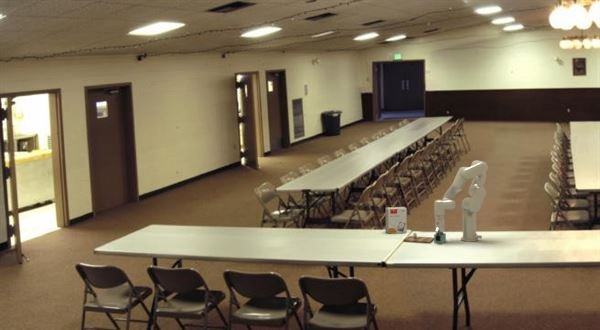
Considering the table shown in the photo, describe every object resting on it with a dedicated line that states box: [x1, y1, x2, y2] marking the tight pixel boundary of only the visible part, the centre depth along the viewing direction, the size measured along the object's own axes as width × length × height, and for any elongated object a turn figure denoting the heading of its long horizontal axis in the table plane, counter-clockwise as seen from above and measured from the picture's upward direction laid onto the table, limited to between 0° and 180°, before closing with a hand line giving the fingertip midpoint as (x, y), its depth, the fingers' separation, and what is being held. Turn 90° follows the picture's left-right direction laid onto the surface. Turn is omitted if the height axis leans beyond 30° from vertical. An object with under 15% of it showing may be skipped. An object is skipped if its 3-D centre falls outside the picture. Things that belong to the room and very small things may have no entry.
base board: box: [403, 232, 434, 245], centre depth 537 cm, size 20×14×6 cm
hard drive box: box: [385, 206, 408, 235], centre depth 567 cm, size 16×8×20 cm, turn 97°
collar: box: [433, 232, 447, 244], centre depth 530 cm, size 7×7×6 cm
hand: (439, 239), depth 530 cm, fingers open, 9 cm apart
